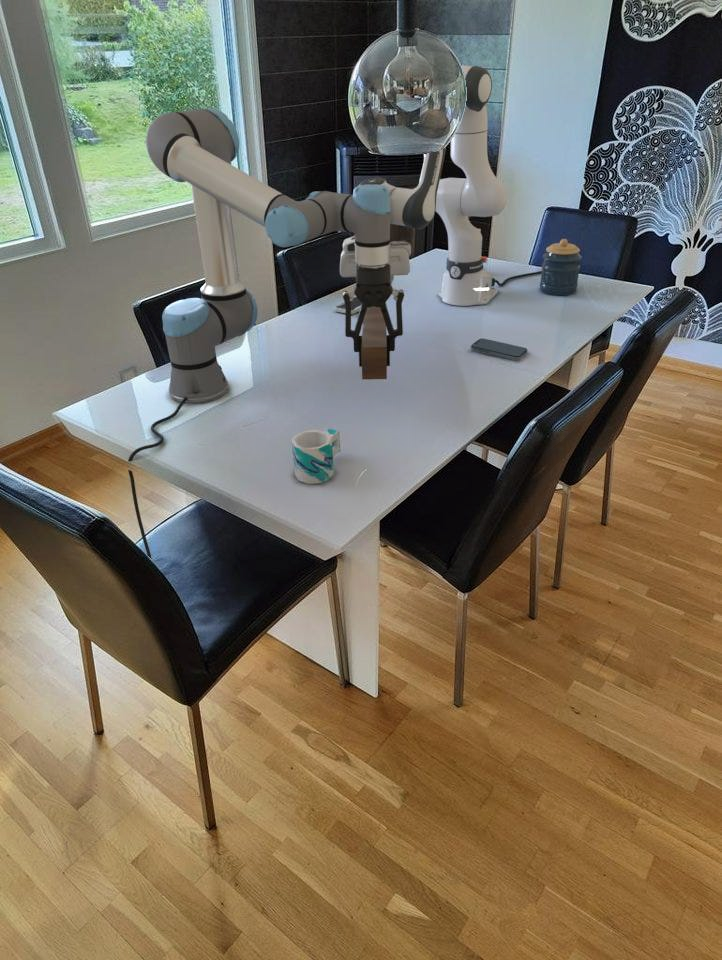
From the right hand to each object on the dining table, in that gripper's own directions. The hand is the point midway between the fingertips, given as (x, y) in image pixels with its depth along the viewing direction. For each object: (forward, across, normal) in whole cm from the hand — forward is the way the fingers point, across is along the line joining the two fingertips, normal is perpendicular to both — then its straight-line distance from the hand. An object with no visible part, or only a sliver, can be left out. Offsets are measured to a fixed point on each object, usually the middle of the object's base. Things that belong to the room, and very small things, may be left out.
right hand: (375, 290), depth 195 cm
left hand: (+2, 0, +48) cm, 48 cm away
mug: (+15, +12, +73) cm, 76 cm away
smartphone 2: (+16, -35, +12) cm, 40 cm away
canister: (+16, -65, -44) cm, 80 cm away
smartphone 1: (+16, +7, -32) cm, 36 cm away
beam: (+3, 0, +24) cm, 24 cm away
